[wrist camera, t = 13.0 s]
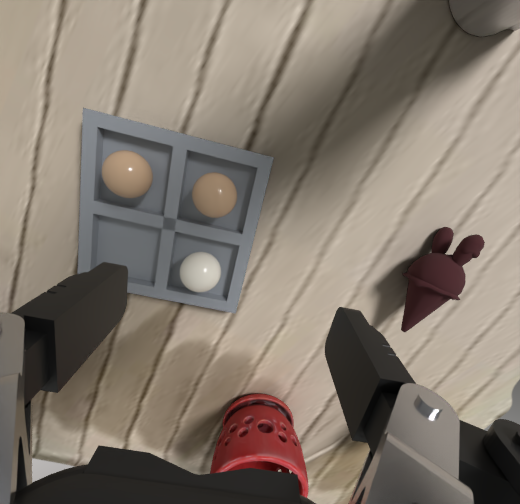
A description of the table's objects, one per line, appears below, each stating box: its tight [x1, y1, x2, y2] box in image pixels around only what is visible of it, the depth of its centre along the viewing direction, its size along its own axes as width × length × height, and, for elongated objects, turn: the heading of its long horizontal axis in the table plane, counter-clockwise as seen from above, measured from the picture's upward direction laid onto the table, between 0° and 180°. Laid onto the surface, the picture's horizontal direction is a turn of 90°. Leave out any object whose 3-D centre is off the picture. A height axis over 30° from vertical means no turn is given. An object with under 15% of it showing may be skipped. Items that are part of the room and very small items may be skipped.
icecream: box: [401, 227, 485, 332], centre depth 35 cm, size 7×7×15 cm
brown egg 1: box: [102, 150, 153, 198], centre depth 29 cm, size 5×5×5 cm
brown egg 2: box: [192, 172, 237, 218], centre depth 30 cm, size 5×5×5 cm
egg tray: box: [78, 108, 274, 313], centre depth 34 cm, size 20×20×2 cm
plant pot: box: [210, 394, 308, 498], centre depth 40 cm, size 13×13×12 cm
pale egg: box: [180, 252, 221, 292], centre depth 33 cm, size 5×5×5 cm
